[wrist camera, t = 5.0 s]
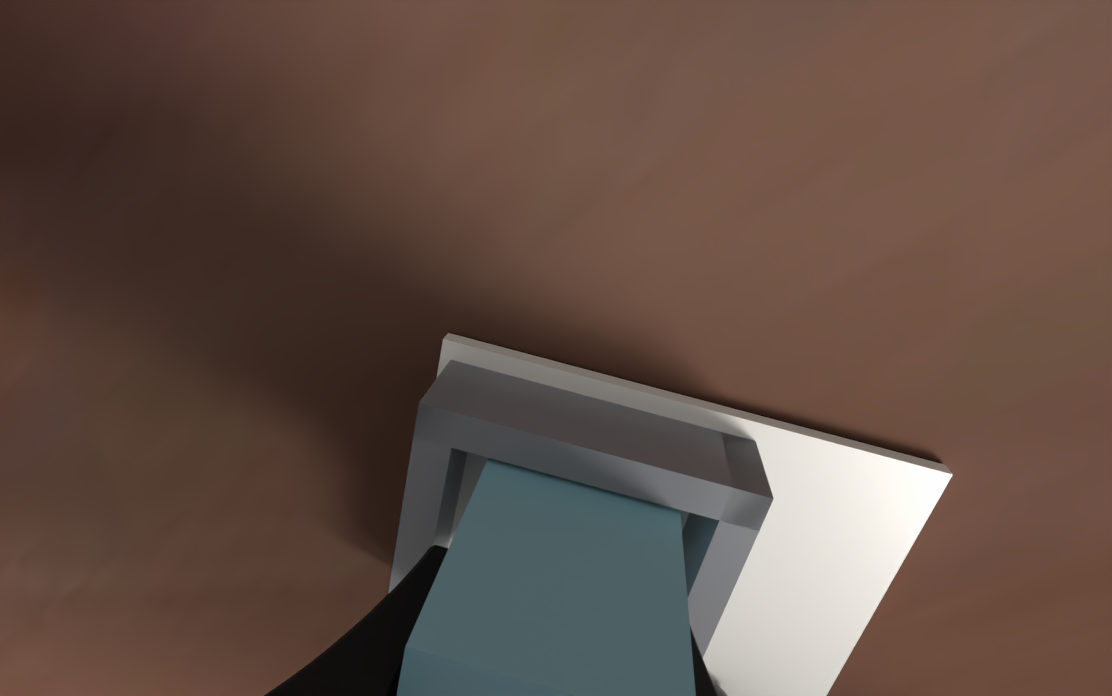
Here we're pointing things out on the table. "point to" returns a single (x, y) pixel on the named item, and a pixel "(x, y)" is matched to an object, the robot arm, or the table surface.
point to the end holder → (587, 471)
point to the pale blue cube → (555, 596)
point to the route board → (773, 528)
